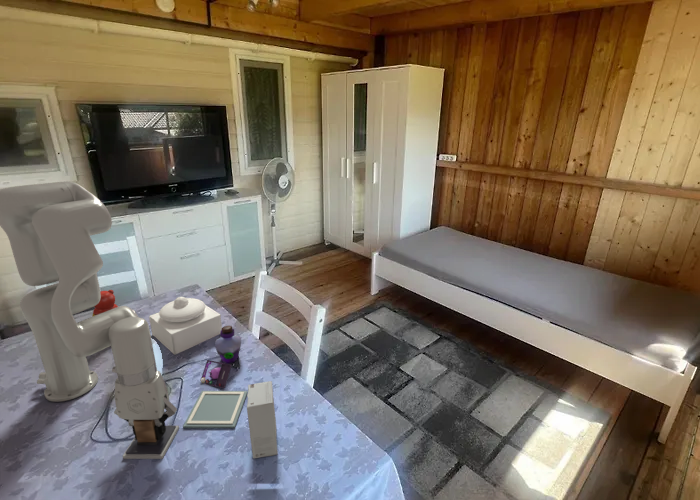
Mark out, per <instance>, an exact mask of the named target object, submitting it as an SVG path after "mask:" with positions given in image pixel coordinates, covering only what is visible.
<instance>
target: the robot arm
mask: <svg viewBox="0 0 700 500" xmlns="http://www.w3.org/2000/svg"><path fill="white" fill-rule="evenodd" d="M112 224H113V221H112V215H111V213H110V211H109V210H108V208H107V206H105V204H104V203H103V202H102V201H101V200H100V199H99V198H98V197H97V196H95V195H94V194H93V193H92V192H90V191H89V190H87V189H86V188H85V187H83V186H81V185H80V184H79V183H77V182H74V181H57V182H56V181H55V182H46V183H37V184H35V183H33V184H27V185H17V186H10V187H5V188H0V227H1V229H2V230H3V231H4V233H5V234H6V236H7V238H8V240H9V244H10V247H11V251H12V254H13V258H14V261H15V265H16V269H17V272H18V275H19V277H20V278H21V280H22V281H23V283H24V284H26V285H27V286H29V287H38V286H44V285H47V286H44V287H39V288H38V289H35V290H32V291H30V292H28V293H27V294H24V296H22V298H21V300H20V302H19V308H20V310H21V314H22V315H23V317H24V319H25V320H26V322H27V324H28V326H29V327H30V329H31V332H32V335H33V337H34V340H35V344H36V347H37V349H38V354H39V357H40V359H41V362H42V366H43V369H44V372H43V371H41V372H40V373H39V375H38V379H37V380H36V384H38V385H45V387H46V388H45V389H44V391H43V393H44V394H43V395H44V397H45V399H46V400H47V401H49V402H56V403H57V402H65V401H70V400H73V399H76V398H79V397H81V396H82V395H84V394H87V393H88V392H89V391H91V390H92V389H93V388H94V387H95V386H96V384H97V383H98V381H99V376H98V374H97V372H96V371H93V370H90V368H89V363H88V359H87V357H90V356H91V355H94V354H96V353H98V352H101V351H103V350H105V349H107V348H109V347H110V348H111V352H112V358H113V360H114V361H113V362H114V366H113V367H112V369H111V371H112V373H113V374H114V373H116V374H117V378H116V379H115V380H114V381H115V382H114V401H115V410H114V411H113V413H114V415H116V416H118V418H119V419H121V420H124V421H126V422H128V426H129V427H131V428H132V432H133V434H134V438H135V440H137V436H136V432H135V428H134V423H133V421H134V420H154V422H155V424H156V425H155V427H154V430H155V434H156V439H157V440H160V438H161V437H162V435H163V434H164V433H165V431H166V426H167V425H166V421H167V420H168V419H169V418H171V417H172V416H174V415H175V414H176V412H177V411H178V409H177V407H176V406H175V405H174V404H173V403H172V402H170V397H169V391H168V388H167V386H166V381H165V379H164V377H163V375H162V373H161V371H160V370H158V368H157V367H158V366H157V363H156V357H155V352H154V347H153V346H154V345H153V341H152V336H151V335H152V334H151V332H150V331H151V330H150V329H151V328H150V325H149V323H148V321H147V320H146V319H144V318H143V317H139V315H138V313H137V312H136V311H135V309H132V308H131V307H129V306H127V305H120V306H118V307H116V308H114V309H111V310H109V311H106V312H104V313H101V314H98V315H95V316H93V317H92V316H90V317H88V318H85V319H83V320H80V321H79V322H78V321H76V320H75V318H74V315H76V314H78V313H81V312H83V311H86V310H89V309H91V308H95V307H94V306H96V305H97V304H98V303H99V302H100V299H101V293H100V291H101V287H100V282H99V277H98V272H99V271H100V270H101V269H102V268H103V266H104V261H103V259H102V257H101V255H100V253H99V252H98V249H97V248H96V246H95V243H94V242H93V240H92V238H91V236H95V235H98V234H103V233H107V232H108V231H109V230H110V229H111V228H112ZM55 282H56V283H55ZM52 283H53V284H52ZM49 284H50V285H49Z"/></svg>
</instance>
